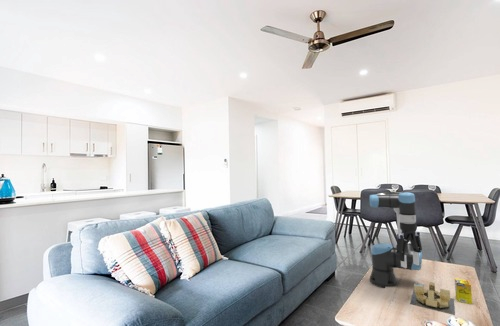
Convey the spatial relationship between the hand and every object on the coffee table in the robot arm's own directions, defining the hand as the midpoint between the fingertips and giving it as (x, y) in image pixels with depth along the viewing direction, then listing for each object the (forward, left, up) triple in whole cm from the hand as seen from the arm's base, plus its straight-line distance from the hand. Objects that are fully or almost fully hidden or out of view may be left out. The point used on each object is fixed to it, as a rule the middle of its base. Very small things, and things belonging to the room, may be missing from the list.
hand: (410, 265), depth 134 cm
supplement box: (+22, +15, -20) cm, 32 cm away
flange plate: (+9, +5, -19) cm, 22 cm away
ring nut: (+9, +5, -18) cm, 21 cm away
